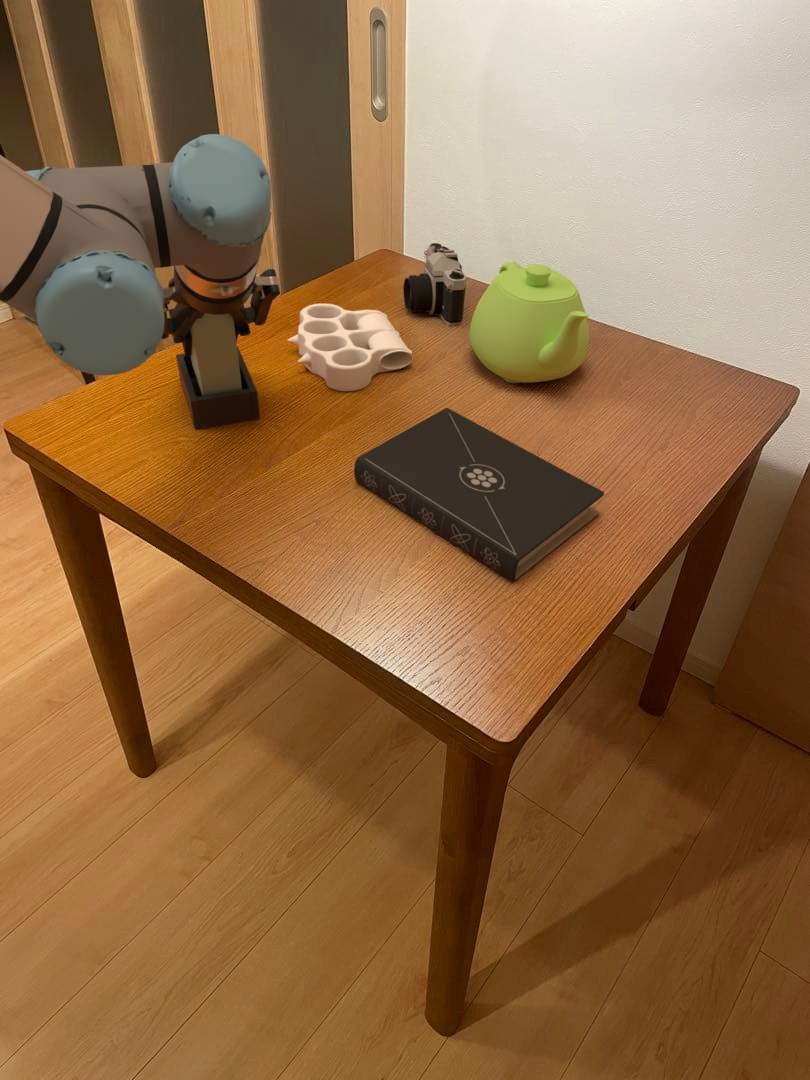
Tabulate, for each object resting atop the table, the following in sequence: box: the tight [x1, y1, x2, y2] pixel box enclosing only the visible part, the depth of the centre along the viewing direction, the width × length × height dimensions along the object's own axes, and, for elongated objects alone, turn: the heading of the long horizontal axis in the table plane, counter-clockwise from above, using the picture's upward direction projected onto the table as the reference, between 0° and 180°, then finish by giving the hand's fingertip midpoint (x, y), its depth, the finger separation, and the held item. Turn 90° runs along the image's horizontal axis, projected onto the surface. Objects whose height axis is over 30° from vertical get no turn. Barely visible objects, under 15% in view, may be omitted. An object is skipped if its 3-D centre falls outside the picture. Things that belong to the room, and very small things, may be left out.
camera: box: [403, 242, 468, 327], centre depth 115 cm, size 13×8×9 cm, turn 17°
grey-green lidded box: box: [190, 313, 242, 396], centre depth 91 cm, size 5×8×12 cm, turn 20°
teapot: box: [468, 262, 590, 384], centre depth 101 cm, size 22×15×13 cm
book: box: [353, 407, 605, 583], centre depth 84 cm, size 22×15×3 cm
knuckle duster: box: [286, 303, 414, 392], centre depth 105 cm, size 3×18×15 cm
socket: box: [175, 345, 261, 430], centre depth 96 cm, size 8×11×4 cm
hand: (207, 341), depth 96 cm, fingers closed on grey-green lidded box, 4 cm apart
